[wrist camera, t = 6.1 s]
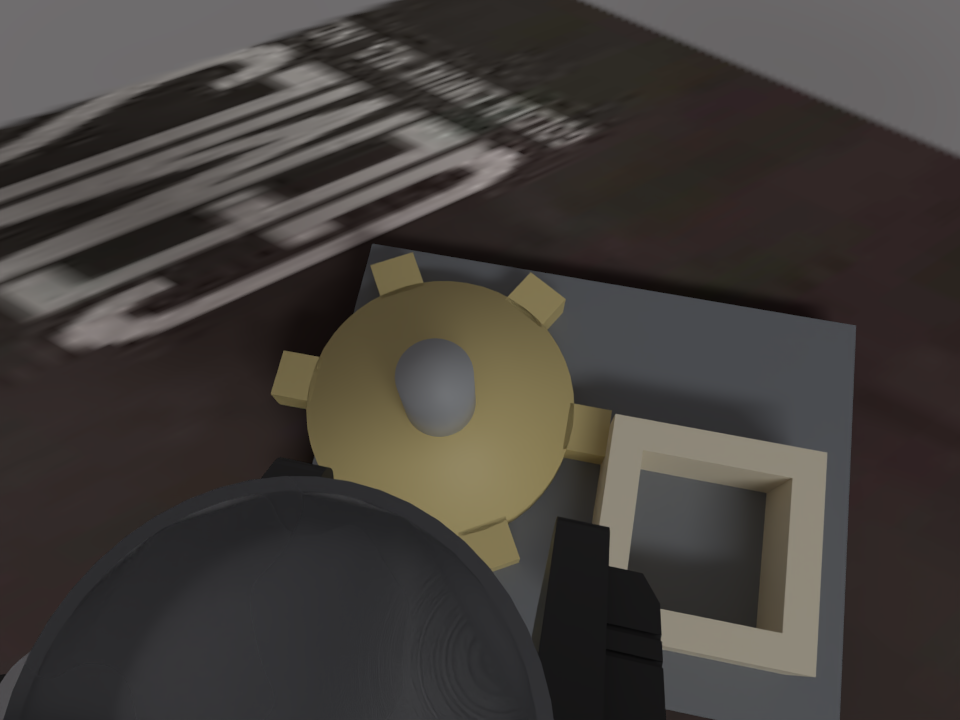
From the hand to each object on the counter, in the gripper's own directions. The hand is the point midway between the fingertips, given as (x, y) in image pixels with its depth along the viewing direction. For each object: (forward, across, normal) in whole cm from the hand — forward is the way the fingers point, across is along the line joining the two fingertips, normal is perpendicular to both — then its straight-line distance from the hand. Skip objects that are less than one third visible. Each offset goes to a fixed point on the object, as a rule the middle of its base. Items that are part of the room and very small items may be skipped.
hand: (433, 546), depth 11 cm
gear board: (+16, -3, +8) cm, 18 cm away
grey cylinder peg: (+2, 0, +5) cm, 5 cm away
